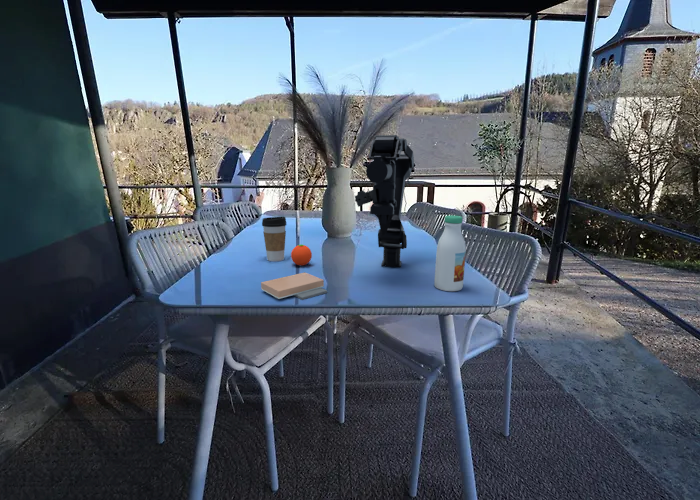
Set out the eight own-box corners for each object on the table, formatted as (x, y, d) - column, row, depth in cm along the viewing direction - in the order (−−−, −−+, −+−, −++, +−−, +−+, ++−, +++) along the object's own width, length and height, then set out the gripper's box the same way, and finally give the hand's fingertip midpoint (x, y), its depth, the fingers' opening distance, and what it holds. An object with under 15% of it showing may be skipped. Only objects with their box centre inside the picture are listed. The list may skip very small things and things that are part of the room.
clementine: (288, 262, 125) (288, 242, 123) (308, 260, 127) (308, 241, 125) (293, 268, 117) (293, 247, 116) (314, 266, 120) (314, 246, 118)
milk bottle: (443, 293, 97) (448, 219, 92) (429, 284, 104) (433, 214, 99) (468, 290, 99) (474, 217, 94) (452, 281, 106) (458, 213, 101)
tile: (304, 272, 105) (261, 282, 96) (323, 279, 98) (278, 291, 89) (305, 278, 105) (261, 289, 96) (323, 286, 99) (278, 298, 90)
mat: (296, 279, 107) (296, 277, 107) (327, 292, 96) (327, 290, 96) (272, 284, 102) (272, 282, 102) (302, 299, 91) (302, 297, 91)
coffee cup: (285, 262, 125) (283, 219, 121) (260, 262, 125) (258, 219, 121) (289, 256, 133) (288, 215, 129) (266, 256, 133) (264, 215, 129)
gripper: (361, 179, 113) (360, 228, 117) (351, 182, 96) (351, 240, 99) (397, 179, 112) (395, 229, 115) (394, 183, 94) (392, 241, 97)
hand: (383, 234), depth 107 cm, fingers closed
